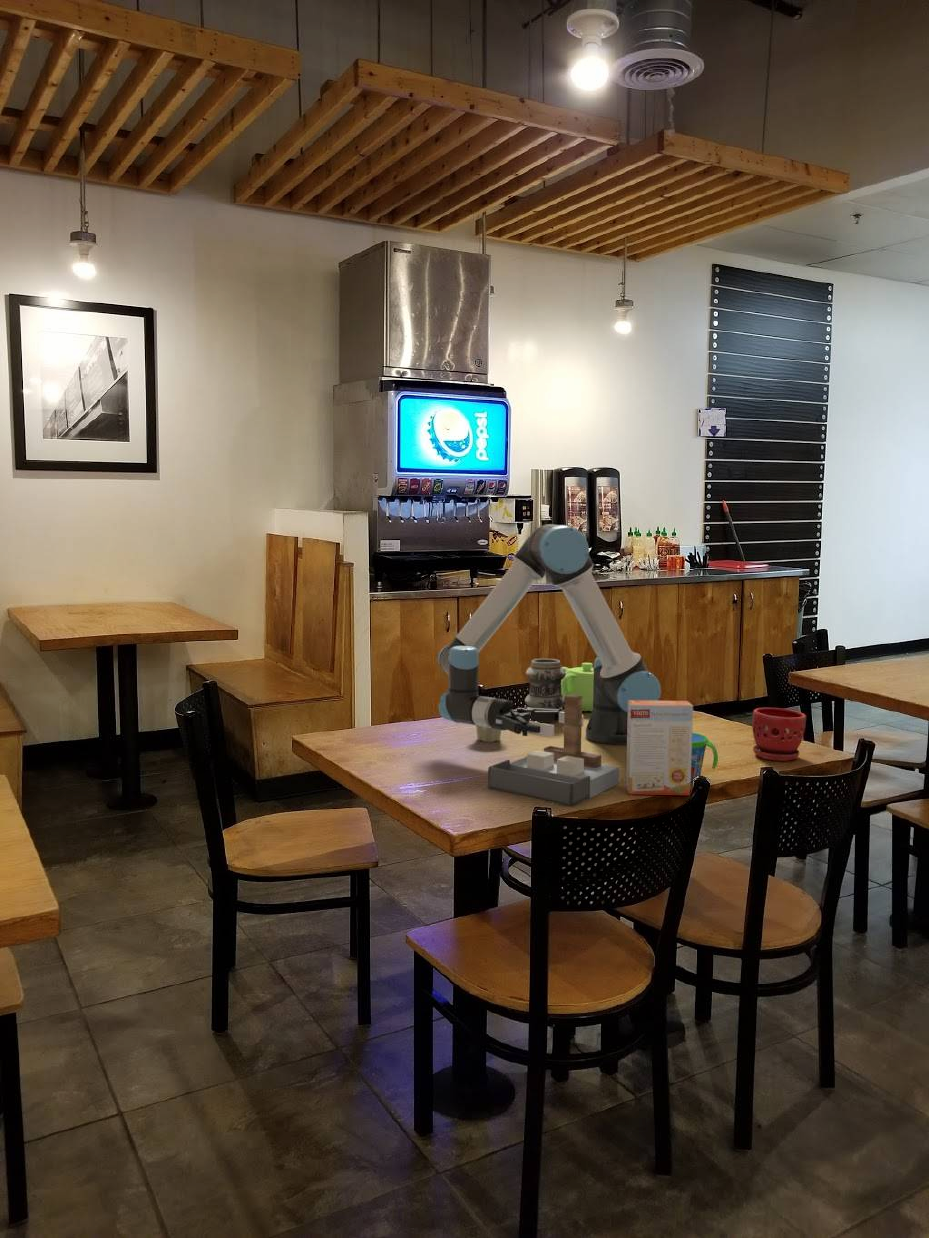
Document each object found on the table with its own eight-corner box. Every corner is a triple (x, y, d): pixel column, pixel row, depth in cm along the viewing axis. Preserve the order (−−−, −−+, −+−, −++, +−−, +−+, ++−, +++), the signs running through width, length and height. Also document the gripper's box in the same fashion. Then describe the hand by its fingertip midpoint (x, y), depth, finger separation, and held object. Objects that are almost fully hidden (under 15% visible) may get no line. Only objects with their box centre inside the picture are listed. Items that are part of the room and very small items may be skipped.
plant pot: (789, 766, 252) (791, 719, 250) (741, 756, 261) (743, 711, 259) (812, 757, 261) (815, 711, 260) (765, 747, 270) (767, 704, 269)
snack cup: (643, 777, 240) (645, 735, 239) (662, 768, 249) (664, 727, 248) (705, 789, 231) (707, 746, 230) (723, 779, 240) (725, 737, 239)
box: (507, 780, 236) (507, 759, 236) (589, 797, 223) (590, 776, 223) (488, 788, 230) (488, 767, 229) (571, 806, 217) (572, 784, 216)
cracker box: (685, 788, 231) (689, 699, 229) (690, 796, 225) (694, 705, 223) (624, 787, 232) (627, 698, 229) (628, 795, 226) (631, 704, 223)
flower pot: (511, 742, 273) (512, 711, 272) (479, 745, 269) (480, 713, 268) (497, 734, 282) (498, 704, 280) (466, 737, 278) (467, 706, 277)
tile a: (537, 762, 237) (537, 750, 237) (553, 765, 235) (553, 753, 234) (527, 766, 234) (527, 753, 233) (543, 769, 231) (543, 757, 231)
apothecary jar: (547, 713, 309) (549, 655, 307) (573, 720, 299) (575, 661, 297) (516, 717, 303) (517, 659, 300) (541, 725, 293) (543, 664, 290)
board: (538, 767, 248) (539, 752, 247) (618, 783, 235) (619, 767, 234) (507, 780, 236) (507, 763, 236) (589, 797, 223) (590, 780, 223)
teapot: (556, 713, 310) (557, 667, 308) (558, 700, 330) (559, 656, 328) (617, 715, 308) (619, 669, 306) (615, 702, 328) (617, 658, 326)
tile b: (566, 768, 233) (566, 755, 232) (583, 771, 230) (584, 758, 230) (556, 772, 229) (556, 759, 229) (573, 775, 227) (574, 762, 226)
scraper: (549, 755, 243) (551, 691, 241) (601, 765, 235) (603, 698, 233) (543, 758, 241) (544, 693, 239) (594, 768, 233) (596, 700, 231)
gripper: (521, 719, 260) (593, 731, 248) (464, 737, 240) (539, 751, 228) (522, 691, 259) (594, 701, 247) (465, 706, 239) (540, 719, 227)
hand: (568, 725), depth 237 cm, fingers open, 13 cm apart
